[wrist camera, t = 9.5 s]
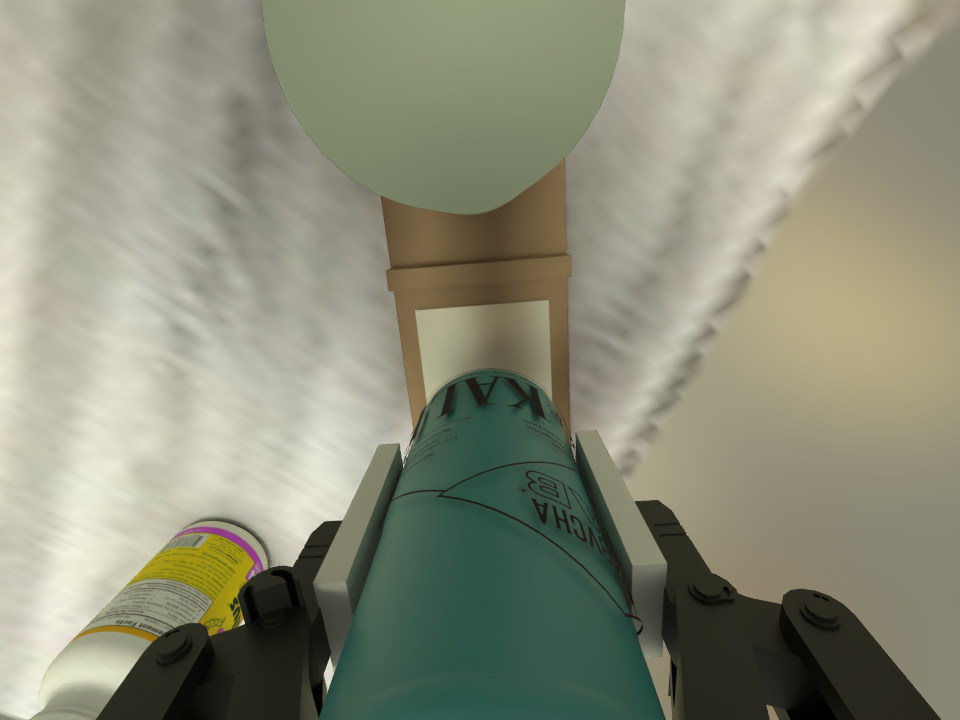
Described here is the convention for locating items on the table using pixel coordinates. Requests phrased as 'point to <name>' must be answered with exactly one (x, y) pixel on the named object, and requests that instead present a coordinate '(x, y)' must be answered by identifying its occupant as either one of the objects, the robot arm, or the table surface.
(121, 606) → the supplement bottle
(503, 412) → the beverage bottle
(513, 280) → the wooden tray
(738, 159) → the table surface
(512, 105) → the sage canister
